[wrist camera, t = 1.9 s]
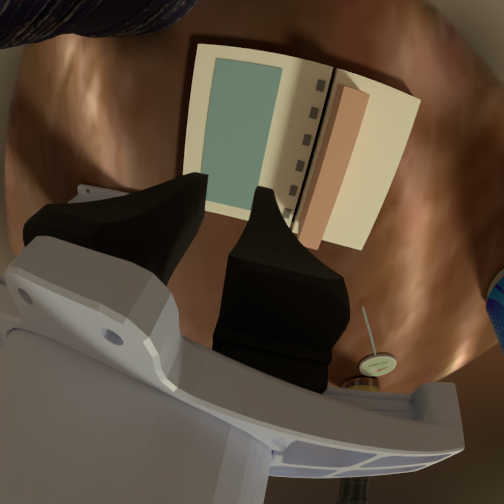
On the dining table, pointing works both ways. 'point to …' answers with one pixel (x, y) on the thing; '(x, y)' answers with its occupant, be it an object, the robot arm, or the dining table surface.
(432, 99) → the dining table surface
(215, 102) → the cream teal notepad
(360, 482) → the sauce bottle
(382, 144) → the cream and brown block
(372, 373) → the dial probe thermometer
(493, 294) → the beer can
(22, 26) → the storage jar
